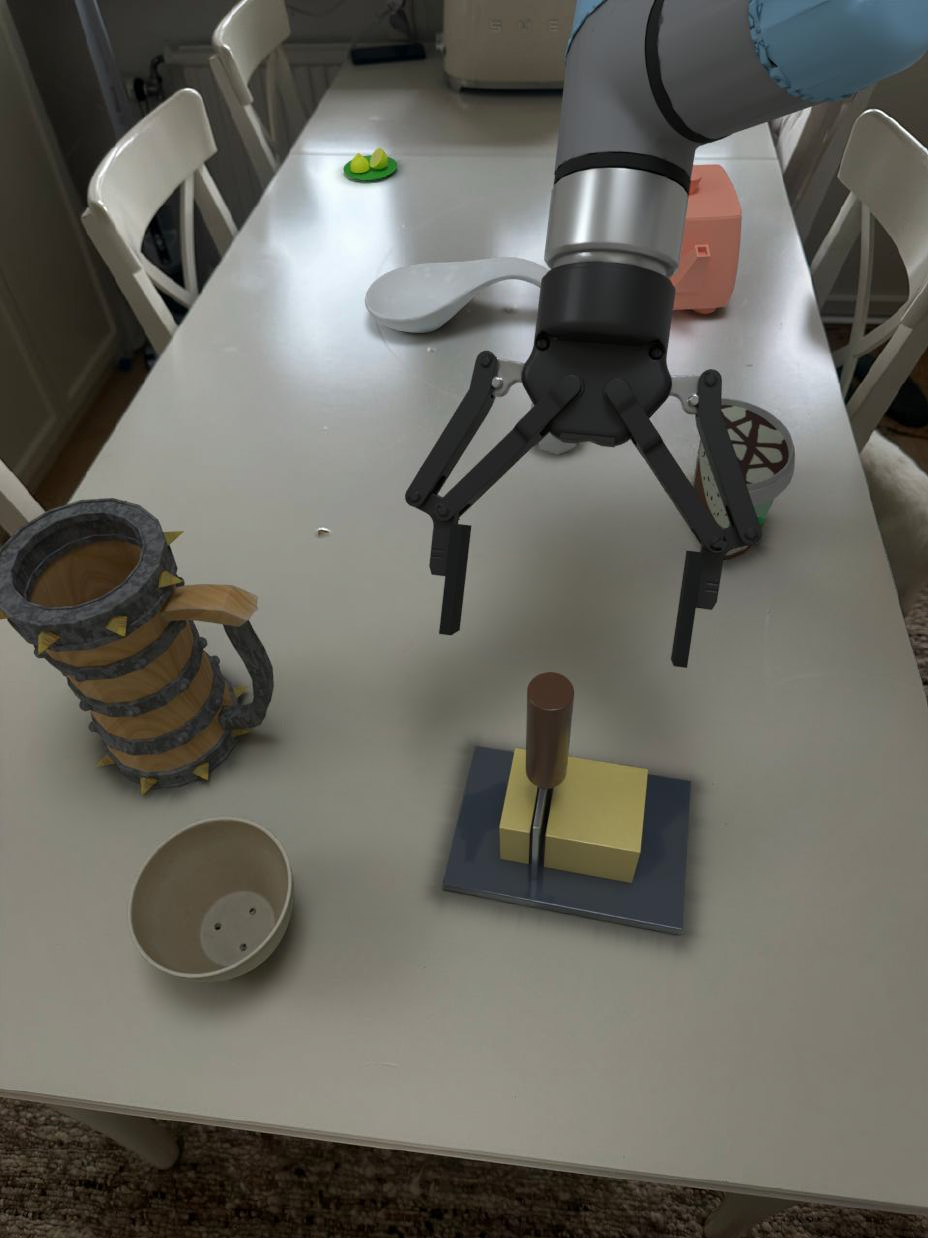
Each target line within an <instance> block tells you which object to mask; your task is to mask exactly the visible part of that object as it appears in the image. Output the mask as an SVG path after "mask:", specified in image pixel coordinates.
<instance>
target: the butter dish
mask: <svg viewBox="0 0 928 1238" xmlns="http://www.w3.org/2000/svg"><path fill="white" fill-rule="evenodd" d="M539 790H540V787H538V786H536V785H534V784H533V783H532V782H531V781H530V780H529V779H528V777H527V775H526V748H519V747H515V748H514V751H511V750H504V749H499V748H492V747H485V746H479V745H475V746H474V749H473V753H472V758H471V762H470V767H469V770H468V775H467V779H466V783H465V788H464V792H463V797H462V800H461V805H460V809H459V813H458V817H457V822H456V826H455V830H454V834H453V838H452V843H451V848H450V852H449V856H448V860H447V865H446V868H445V873H444V876H443V881H442V887H443V890H444V891H449V892H455V893H459V894H464V895H470V896H474V897H480V898H485V899H490V900H495V901H502V902H506V903H512V904H516V905H522V906H527V907H532V908H537V909H541V910H548V911H553V912H558V913H562V914H569V915H573V916H578V917H583V918H589V919H594V920H600V921H605V922H608V923H609V922H610V923H615V924H620V925H626V926H632V927H634V928H635V927H637V928H641V929H646V930H650V931H651V930H652V931H657V932H662V933H666V934H672V935H676V936H681V935H682V932H683V930H684V919H685V918H684V917H685V903H686V902H685V900H686V883H687V882H686V881H687V865H688V847H689V830H690V814H691V813H690V811H691V797H692V795H691V794H692V781H691V780H688V779H684V778H683V779H682V778H675V777H669V776H663V775H657V774H653V773H649V770H648V769H647V768H642V767H638V766H637V767H636V766H629V765H623V764H618V763H611V762H604V761H600V760H599V761H598V760H592V759H588V758H580V757H574V756H570V755H568V764H567V774H566V777H565V779H564V781H563V782H562V783H561V784H559V785H558V786H556V787H553V788H552V791H551V797H550V803H549V809H548V815H547V821H546V827H545V833H544V839H543V845H542V851H541V857H540V863H539V869H538V875H537V880H534V879H531V864H532V838H533V824H534V818H535V813H536V807H537V801H538V796H539Z"/></svg>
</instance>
